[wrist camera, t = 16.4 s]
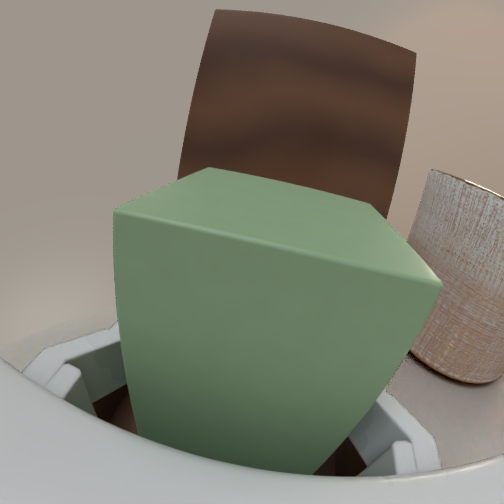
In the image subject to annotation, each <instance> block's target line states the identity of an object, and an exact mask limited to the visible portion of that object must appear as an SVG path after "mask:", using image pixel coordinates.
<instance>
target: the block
mask: <svg viewBox="0 0 504 504" xmlns="http://www.w3.org/2000/svg"><path fill="white" fill-rule="evenodd" d="M113 257H114V280H115V294H116V306H117V317H118V326H119V334H120V342H121V349H122V356H123V362H124V368H125V374H126V380H127V385H128V390H129V395H130V400H131V405H132V410H133V414H134V418H135V422H136V427H137V430H138V434H139V436H141V437H144V438H146V439H149V440H152V441H154V442H157V443H160V444H163V445H166V446H169V447H172V448H175V449H178V450H181V451H185V452H188V453H191V454H195V455H199V456H202V457H206V458H210V459H214V460H218V461H222V462H227V463H231V464H236V465H241V466H246V467H252V468H257V469H263V470H270V471H277V472H285V473H294V474H304V475H312V474H313V473H314V472H315V471H316V470H317V469H318V468H319V467H320V466H321V465H322V464H323V463H324V462H325V461H326V460H327V459H328V458H329V457H330V456H331V455H332V454H333V452H334V451H335V450H336V449H337V448H338V447H339V446H340V445H341V443H342V442H343V441H344V440H345V439H346V438H347V437H348V435H349V434H350V433H351V432H352V431H353V429H354V428H355V427H356V426H357V424H358V423H359V422H360V421H361V419H362V418H363V417H364V416H365V414H366V413H367V412H368V410H369V409H370V408H371V406H372V405H373V404H374V402H375V401H376V400H377V398H378V397H379V396H380V394H381V393H382V391H383V390H384V389H385V387H386V386H387V384H388V383H389V381H390V380H391V378H392V377H393V375H394V374H395V372H396V371H397V369H398V368H399V366H400V365H401V363H402V361H403V360H404V358H405V357H406V355H407V353H408V352H409V350H410V348H411V347H412V345H413V343H414V342H415V340H416V338H417V336H418V335H419V333H420V331H421V329H422V327H423V326H424V324H425V322H426V320H427V318H428V316H429V314H430V312H431V310H432V308H433V306H434V304H435V302H436V300H437V298H438V296H439V294H440V292H441V290H442V288H443V283H442V282H441V281H440V280H439V278H438V277H437V276H436V275H435V274H434V272H433V271H432V270H431V269H430V268H429V266H428V265H427V264H426V263H425V262H424V261H423V260H422V258H421V257H420V256H419V255H418V254H417V253H416V252H415V250H414V249H413V248H412V247H411V246H410V245H409V244H408V243H407V242H406V241H405V240H404V238H403V237H402V236H401V235H400V234H399V233H398V232H397V231H396V230H395V229H394V228H393V227H392V226H391V225H390V224H389V223H388V221H387V220H386V219H385V218H384V217H383V216H382V215H381V214H380V213H379V212H378V211H377V210H376V209H375V208H374V207H373V206H372V205H371V204H369V203H366V202H362V201H358V200H355V199H351V198H347V197H344V196H340V195H336V194H332V193H328V192H324V191H320V190H316V189H312V188H308V187H304V186H300V185H295V184H291V183H286V182H282V181H277V180H273V179H268V178H263V177H259V176H254V175H249V174H244V173H238V172H233V171H228V170H222V169H217V168H211V167H208V168H205V169H203V170H200V171H198V172H195V173H193V174H190V175H188V176H186V177H183V178H181V179H179V180H176V181H174V182H172V183H169V184H167V185H165V186H163V187H160V188H158V189H156V190H153V191H151V192H149V193H147V194H145V195H143V196H140V197H139V198H136V199H134V200H132V201H130V202H128V203H126V204H124V205H122V206H120V207H118V208H115V210H114V212H113Z"/></svg>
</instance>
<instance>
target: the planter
mask: <svg viewBox="0 0 504 504" xmlns="http://www.w3.org/2000/svg"><path fill="white" fill-rule="evenodd" d="M407 243H408V244H409V245H410V246H411V247H412V248H413V249H414V250H415V252H416V253H417V254H418V255H419V256H420V257H421V258H422V260H423V261H424V262H425V263H426V264H427V265H428V266H429V268H430V269H431V270H432V271H433V272H434V274H435V275H436V276H437V277H438V278H439V280H440V281H441V282H442V283H443V288H442V290H441V292H440V294H439V296H438V298H437V300H436V302H435V304H434V306H433V308H432V310H431V312H430V314H429V316H428V318H427V320H426V322H425V324H424V326H423V327H422V329H421V331H420V333H419V335H418V336H417V338H416V340H415V342H414V343H413V345H412V347H411V348H410V350H409V351H410V352H411V353H412V354H413V355H414V356H415V357H416V358H418V359H419V360H420V361H421V362H423V363H424V364H426V365H427V366H429V367H430V368H432V369H433V370H435V371H437V372H438V373H440V374H442V375H445V376H447V377H450V378H452V379H455V380H458V381H461V382H467V383H477V384H480V383H488V382H491V381H494V380H496V379H498V378H499V377H500V376H501V375H502V374H503V373H504V197H501V196H499V195H498V194H496V193H493V192H491V191H489V190H487V189H485V188H483V187H480V186H478V185H475V184H473V183H471V182H469V181H466V180H464V179H461V178H459V177H456V176H453V175H451V174H448V173H445V172H442V171H439V170H435V169H430V170H429V174H428V177H427V181H426V184H425V188H424V191H423V195H422V198H421V201H420V204H419V208H418V211H417V214H416V217H415V220H414V223H413V225H412V228H411V231H410V234H409V236H408V239H407Z"/></svg>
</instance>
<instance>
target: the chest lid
mask: <svg viewBox="0 0 504 504" xmlns="http://www.w3.org/2000/svg"><path fill="white" fill-rule="evenodd" d="M415 65H416V53H415V52H412V51H410V50H408V49H405V48H403V47H400V46H398V45H395V44H392V43H390V42H387V41H384V40H381V39H378V38H375V37H373V36H370V35H366V34H363V33H360V32H357V31H353V30H350V29H346V28H343V27H339V26H335V25H331V24H327V23H322V22H318V21H313V20H308V19H303V18H297V17H292V16H285V15H278V14H271V13H263V12H253V11H241V10H220V9H216V10H215V12H214V16H213V19H212V23H211V26H210V29H209V33H208V37H207V40H206V44H205V48H204V51H203V55H202V59H201V63H200V67H199V72H198V76H197V79H196V84H195V88H194V92H193V97H192V102H191V106H190V111H189V116H188V122H187V126H186V131H185V137H184V142H183V147H182V153H181V159H180V165H179V171H178V178H177V180H179V179H181V178H183V177H186V176H188V175H190V174H193V173H195V172H198V171H200V170H203V169H205V168H208V167H211V168H217V169H222V170H228V171H233V172H238V173H244V174H249V175H254V176H259V177H263V178H268V179H273V180H277V181H282V182H286V183H291V184H295V185H300V186H304V187H308V188H312V189H316V190H320V191H324V192H328V193H332V194H336V195H340V196H344V197H347V198H351V199H355V200H358V201H362V202H366V203H369V204H371V205H372V206H373V207H374V208H375V209H376V210H377V211H378V212H379V213H380V214H381V215H382V216H383V217H384V218H385V219H386V218H387V215H388V211H389V207H390V204H391V200H392V196H393V192H394V188H395V184H396V180H397V176H398V171H399V167H400V162H401V157H402V152H403V147H404V142H405V137H406V132H407V126H408V120H409V114H410V106H411V99H412V92H413V84H414V75H415Z"/></svg>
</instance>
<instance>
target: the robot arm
mask: <svg viewBox="0 0 504 504" xmlns="http://www.w3.org/2000/svg"><path fill="white" fill-rule="evenodd" d="M125 384H127V380H126V374H125V368H124V362H123V356H122V349H121V342H120V334H119V326H118V320H117V322H116V323H115V324H114V325H113V326H112V327H111V329H110V330H107V329H104V330H101V331H97V332H94V333H91V334H88V335H85V336H82V337H79V338H76V339H73V340H70V341H67V342H63V343H60V344H57V345H54V346H51V347H47V348H44V349H43V350H42V351H41V352H40V353H39V354H38V355H37V357H36V358H35V359H34V360H33V361H32V362H31V363H30V364H29V365H28V366H27V367H26V368H25V370H24V371H23V372H22V373H21V372H20V371H18V370H17V369H15V368H14V367H13V366H11V365H10V364H9V363H7V362H6V361H5V360H3V359H2V358H1V357H0V504H504V454H501V455H498V456H495V457H491V458H488V459H484V460H480V461H477V462H473V463H468V464H464V465H460V466H455V467H450V468H445V469H443V468H442V464H441V460H440V456H439V452H438V448H437V444H436V441H435V438H434V437H433V436H432V435H431V434H430V433H429V432H428V431H427V430H426V429H425V428H424V427H423V426H422V425H421V424H420V423H419V422H418V421H417V420H416V419H415V418H414V417H413V416H412V415H411V414H410V413H409V412H408V411H407V410H406V409H405V408H404V407H403V406H402V405H401V404H400V403H399V402H398V401H397V400H396V399H395V398H394V397H393V396H392V395H391V394H387V391H386V387H385V389H384V390H383V391H382V393H381V394H380V396H379V397H378V398H377V400H376V401H375V402H374V404H373V405H372V406H371V408H370V409H369V410H368V412H367V413H366V414H365V416H364V417H363V418H362V419H361V421H360V422H359V423H358V424H357V426H356V427H355V428H354V429H353V431H352V432H351V433H350V434H349V435H348V437H349V439H350V441H351V442H352V444H353V445H354V447H355V448H356V450H357V451H358V453H359V455H360V456H361V458H362V459H363V461H364V462H365V464H366V465H367V468H366V469H364V470H363V471H362V472H361V473H360V474H359V475H357V476H356V477H340V476H317V475H304V474H294V473H285V472H277V471H270V470H263V469H257V468H252V467H246V466H241V465H236V464H231V463H227V462H222V461H218V460H214V459H210V458H206V457H202V456H199V455H195V454H191V453H188V452H185V451H181V450H178V449H175V448H172V447H169V446H166V445H163V444H160V443H157V442H154V441H152V440H149V439H146V438H144V437H141V436H138V435H136V434H133V433H131V432H129V431H126V430H124V429H122V428H119V427H117V426H115V425H112V424H110V423H108V422H106V421H104V420H102V419H100V418H97V415H96V412H95V410H94V407H93V405H92V403H93V402H95V401H97V400H99V399H101V398H102V397H104V396H106V395H108V394H110V393H111V392H113V391H115V390H117V389H118V388H120V387H122V386H124V385H125Z"/></svg>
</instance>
